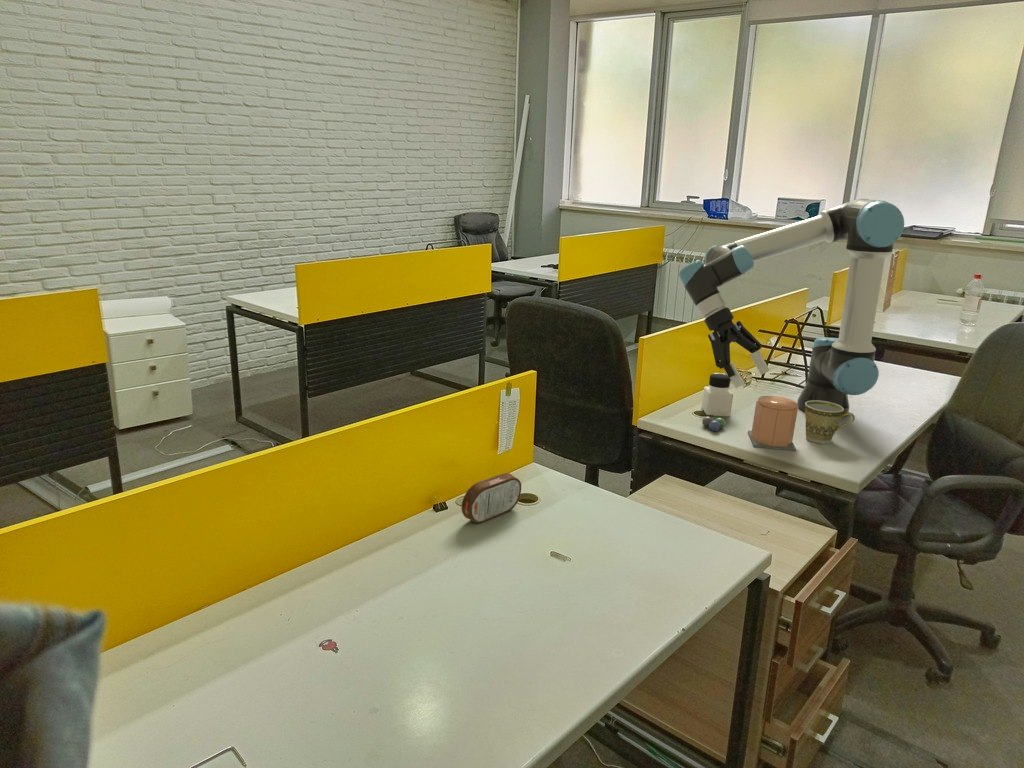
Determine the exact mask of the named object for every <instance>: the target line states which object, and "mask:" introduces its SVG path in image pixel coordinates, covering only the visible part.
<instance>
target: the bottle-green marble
mask: <svg viewBox="0 0 1024 768" xmlns="http://www.w3.org/2000/svg"><path fill="white" fill-rule="evenodd" d="M714 421H718V422H719V424H720V428H719V429H722V428H724V427H725V425H726V422H725V419H724V418H722V417H717V418H716V419H714Z"/></svg>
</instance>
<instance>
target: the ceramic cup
mask: <svg viewBox="0 0 1024 768" xmlns="http://www.w3.org/2000/svg"><path fill="white" fill-rule="evenodd" d="M843 411H844V408H843V407H842V406H840V405H838V404H835V403H832V402H827V401H820V400H811V401H807V402H806V403H805V411H804V418H805V439H806V440H807V441H809V442H811V443H815V444H819V445H827V444H831V442H832V440H833V437H834V436H835V434H836V432H837V431H838V430H840V429H842V428H843V427H845V426H848V425H850V424H852V423H853V422H855V415H854V413H852V412H846V413H843ZM846 415H847V416H851V417H852V420H851V421H848V422H847V423H844V424H841V425H840V426H838V425H839V422H840V421H841V420H842V419H843V418H844V417H846Z"/></svg>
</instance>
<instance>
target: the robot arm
mask: <svg viewBox="0 0 1024 768" xmlns="http://www.w3.org/2000/svg"><path fill="white" fill-rule="evenodd" d="M904 229H905V218H904V215H903V213H902V211H901V210H900V208H899V207H898V206H896V205H895V204H893V203H890V202H888V201H885V200H879V199H878V200H877V199H867V198H858V199H853V200H851V201H847V202H844V203H842V204H839V205H836V206H833V207H830V208H828V209H824V210H822V211H820V212H819V214H818V215H816V216H814V217H811V218H810V217H809V218H806V219H804V220H800V221H796V222H794V223H791V224H787V225H785V226H780V227H777V228H774V229H772V230H771V229H770V230H768V231H765V232H761V233H759V234H755V235H752V236H749V237H745V238H742V239H739V240H735V241H733V242H729V243H726V244H715V245H713V246H710V247H709V248H708V249H707V250H706V252H705V254H704V262H705V263H704V262H703V261H702V259H696V260H695V261H693V262H690V263H689V264H687V265H685V266H684V267H682V268H681V269H680V270H679V273H678V277H679V279H680V281H681V282H682V284H683V286H684V288H685V290H686V292H687V294H688V295H689V297H690V298H691V300H692V302H693V304H694V305H695V307H696V309H697V310H698V312H699V314H700V316H701V318H702V319H704V324H705V325H706V327H707V329H708V330H709V331H710V332H711V333H708V335H707V338H708V339H709V342H710V344H711V350H712V354H713V358H714V363H715V367H716V368H719V369H721V370H722V369H724V371H725V373H726V375H728V376H729V377H730V379H731V380H730V382H732V384H733V386H734V388H735V389H738V388H740V387H741V386H744V385H745V382H744V379H743V378H742V376H741V375H740V373H739V371H738V369H737V367H736V365H735V363H733V362H732V363H731V348H730V344H731V343H736V344H738V345H739V346H741V347H742V348H743V349H744V350H746V351H748V352H749V353H750V354H749V357H750V358H751V360H752V362H753V364H754V365H755V367H756V369H757V370H758V372H759V374H760V375H764V374H766V373H768V372H769V371H771V370H770V368H769V366H768V364H767V363H766V361H765V359H764V357H763V356H762V354H761V352H760V350H761V349H762V344H761V342H760V341H759V340H757V338H756V337H755V336H754V335H753V334H752V333H751V332H750V331H749V330H748V329H747V328H746V327H745V326H744V325H743V322H741V321H740V320H737V321H736V322H735V323H734V321H733V320H734V314H733V313H732V311H731V309H730V308H729V307H726V306H727V305H728V304H727V302H726V300H725V299H724V297H723V296H722V294H721V292H720V290H719V288H720V287H722V286H723V285H726V284H728V283H729V282H730V281H732V280H735V279H736V278H739V277H740V276H742V275H745V274H746V273H748V271H750V270H752V269H753V268H754V266H755V263H756V262H759V261H762V260H766V259H769V258H772V257H776V256H778V255H779V256H780V255H782V254H786V253H789V252H793V251H795V250H799V249H802V248H805V247H809V246H812V245H816V244H819V243H823V242H827V244H831V243H835V242H839V241H846V246H845V247H846V248H845V250H846V252H847V253H848V254H849V255H850V261H849V267H848V272H847V273H848V274H847V278H846V279H847V280H846V285H845V286H846V288H845V294H844V300H843V306H842V313H841V320H840V325H839V326H840V327H839V334H838V338H837V337H821V336H820V337H817V338H816V339H814V342H813V344H812V347H811V357H810V361H809V368H808V374H807V380H806V383H805V385H804V387H803V389H802V391H801V393H800V394H799V396H798V398H797V402H796V403H797V407H798V410H801V411H802V412H805V403H806V402H807V401H811V400H820V401H827V402H832V403H835V404H838V405H840V406H842V407H843V408H844V411H843V413H846V412H849V411H850V402H849V397H848V395H849V396H859V395H863V394H865V393H867V392H869V391H870V390H872V389H873V388H874V387H875V385H876V384H877V382H878V380H879V376H880V375H879V374H880V373H879V371H880V370H879V369H878V366H877V364H876V363H875V357H876V351H877V348H876V347H875V345H874V344H873V343H872V339H873V332H874V327H875V320H876V314H877V310H878V301H879V296H880V290H881V284H882V283H881V282H882V278H883V272H884V266H885V260H886V258H887V257H888V256H889V255H891V254H892V253H893V249H894V243H896V242H897V240H899V239H900V237H901V236H902V234H903V232H904ZM712 331H713V332H712Z"/></svg>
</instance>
